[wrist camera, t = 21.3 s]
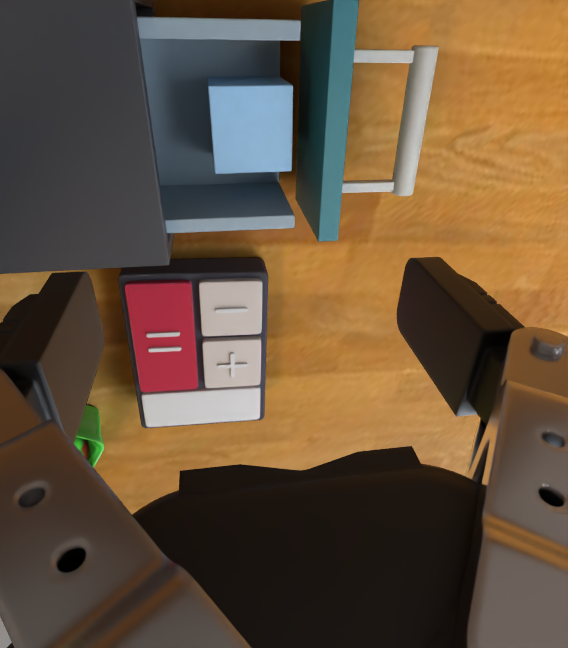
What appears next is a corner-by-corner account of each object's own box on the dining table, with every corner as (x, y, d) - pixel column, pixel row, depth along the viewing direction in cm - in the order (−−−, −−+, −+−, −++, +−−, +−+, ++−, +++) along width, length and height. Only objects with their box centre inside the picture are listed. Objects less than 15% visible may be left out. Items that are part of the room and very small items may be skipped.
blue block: (279, 151, 30) (292, 171, 25) (213, 153, 29) (214, 174, 25) (279, 75, 27) (293, 84, 23) (207, 76, 26) (207, 85, 22)
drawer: (409, 8, 27) (473, 2, 21) (382, 196, 34) (425, 236, 27) (81, 0, 25) (37, -10, 18) (121, 204, 31) (99, 251, 25)
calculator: (270, 275, 33) (265, 426, 40) (263, 253, 36) (260, 395, 44) (114, 279, 31) (140, 435, 39) (124, 256, 35) (146, 403, 42)
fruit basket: (-36, 423, 41) (-107, 540, 31) (-14, 353, 37) (-87, 462, 28) (90, 453, 45) (61, 563, 36) (121, 393, 41) (97, 498, 32)
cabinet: (152, -11, 26) (128, -28, 17) (178, 206, 33) (169, 265, 25) (-134, -19, 24) (-309, -42, 16) (-40, 214, 31) (-127, 280, 23)
